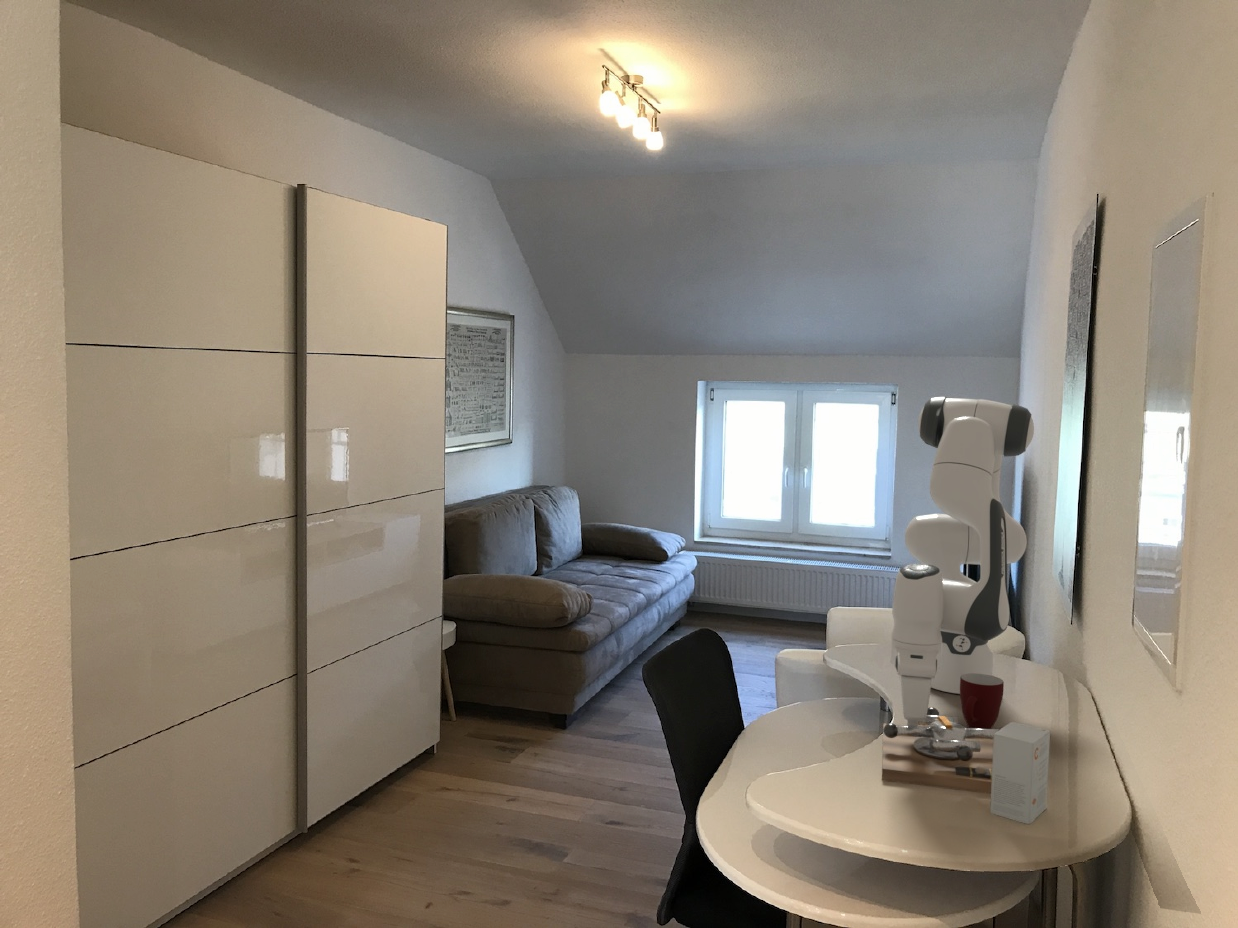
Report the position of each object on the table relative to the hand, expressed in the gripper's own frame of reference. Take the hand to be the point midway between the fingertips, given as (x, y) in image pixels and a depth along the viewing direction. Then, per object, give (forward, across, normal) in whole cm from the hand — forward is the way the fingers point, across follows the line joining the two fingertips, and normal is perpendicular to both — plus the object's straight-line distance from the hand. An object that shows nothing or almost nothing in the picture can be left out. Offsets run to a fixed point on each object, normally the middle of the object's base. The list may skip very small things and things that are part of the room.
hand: (912, 729), depth 180 cm
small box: (+5, +19, +16) cm, 25 cm away
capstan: (+3, +1, +6) cm, 7 cm away
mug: (+5, -19, +13) cm, 24 cm away
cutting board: (+5, +1, +6) cm, 8 cm away
